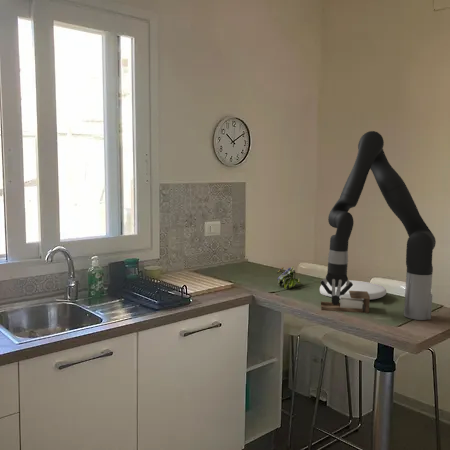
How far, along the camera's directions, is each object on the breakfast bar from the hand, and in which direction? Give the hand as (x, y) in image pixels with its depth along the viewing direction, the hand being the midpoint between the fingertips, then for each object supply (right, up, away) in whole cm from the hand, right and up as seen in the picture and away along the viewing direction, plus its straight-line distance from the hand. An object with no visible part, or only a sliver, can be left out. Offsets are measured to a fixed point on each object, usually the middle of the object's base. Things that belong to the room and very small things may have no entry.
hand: (335, 304), depth 206 cm
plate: (+12, 0, +23) cm, 26 cm away
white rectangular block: (+6, -2, -1) cm, 6 cm away
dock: (+4, -3, 0) cm, 4 cm away
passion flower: (-14, +2, +37) cm, 40 cm away
